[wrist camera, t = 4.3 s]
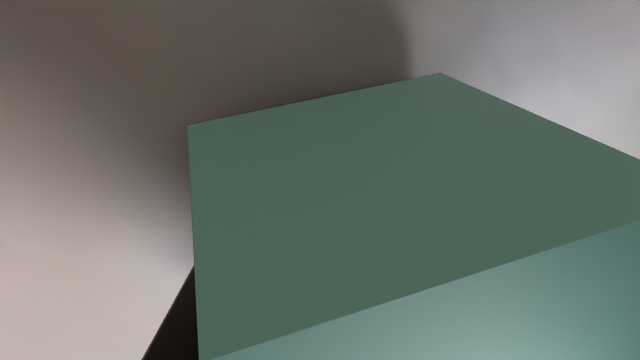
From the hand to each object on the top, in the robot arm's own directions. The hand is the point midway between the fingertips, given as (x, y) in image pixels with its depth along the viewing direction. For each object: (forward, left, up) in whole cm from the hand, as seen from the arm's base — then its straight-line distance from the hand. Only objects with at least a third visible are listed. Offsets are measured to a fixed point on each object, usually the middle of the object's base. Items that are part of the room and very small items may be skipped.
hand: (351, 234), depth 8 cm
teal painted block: (0, 0, -1) cm, 1 cm away
